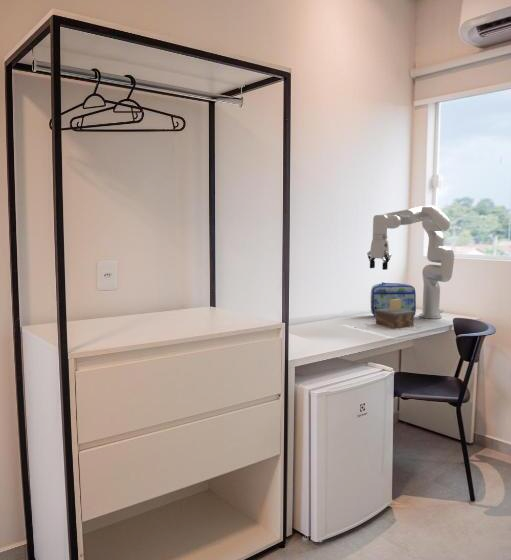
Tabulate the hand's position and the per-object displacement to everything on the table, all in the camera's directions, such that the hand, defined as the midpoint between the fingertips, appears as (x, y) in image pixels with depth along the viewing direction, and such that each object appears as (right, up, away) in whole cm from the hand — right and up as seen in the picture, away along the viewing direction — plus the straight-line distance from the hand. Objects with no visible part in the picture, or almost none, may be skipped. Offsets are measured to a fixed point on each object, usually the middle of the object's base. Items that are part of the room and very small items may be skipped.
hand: (378, 268), depth 290 cm
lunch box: (+14, -29, +24) cm, 40 cm away
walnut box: (+8, -32, -3) cm, 33 cm away
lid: (+8, -24, -3) cm, 25 cm away
